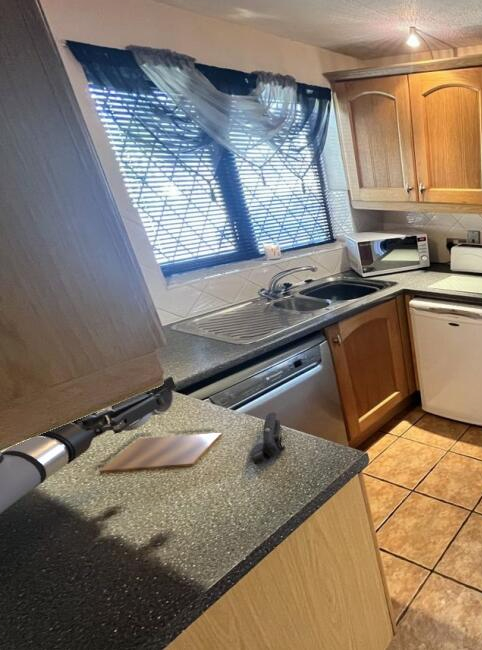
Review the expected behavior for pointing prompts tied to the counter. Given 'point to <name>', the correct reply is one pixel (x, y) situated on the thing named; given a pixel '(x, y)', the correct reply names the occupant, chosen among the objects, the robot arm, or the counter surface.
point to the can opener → (269, 440)
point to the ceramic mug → (163, 409)
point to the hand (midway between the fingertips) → (150, 383)
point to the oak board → (162, 452)
